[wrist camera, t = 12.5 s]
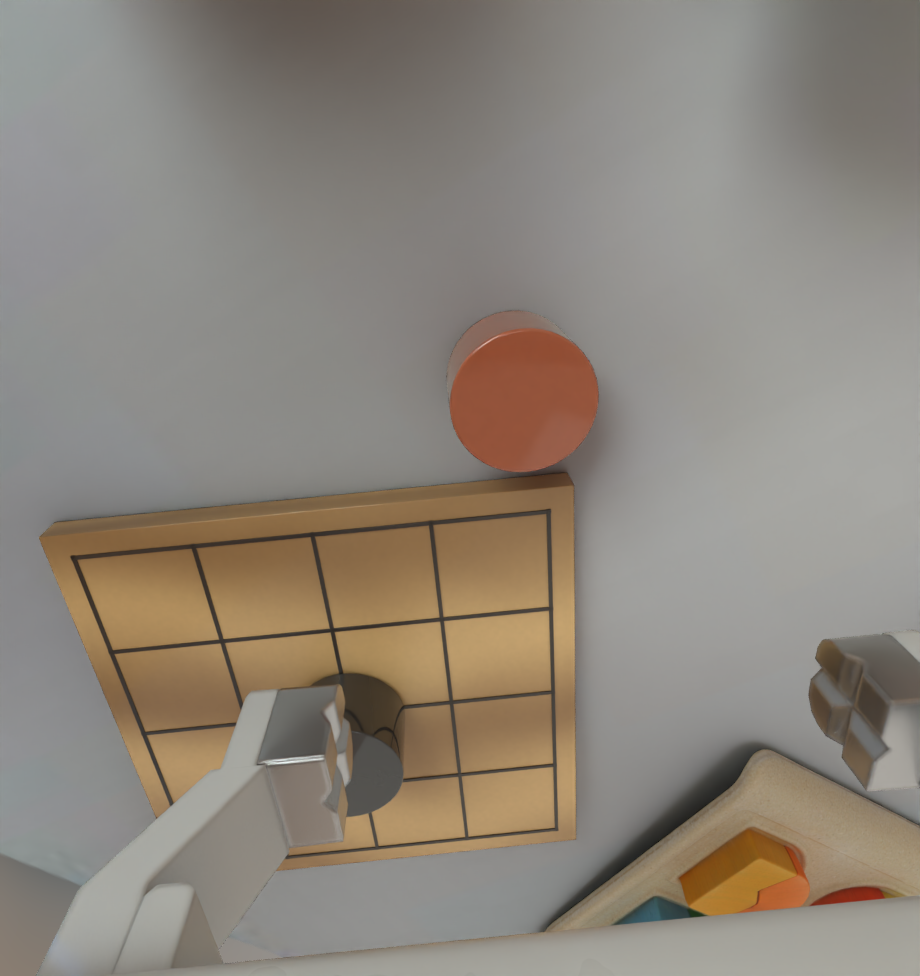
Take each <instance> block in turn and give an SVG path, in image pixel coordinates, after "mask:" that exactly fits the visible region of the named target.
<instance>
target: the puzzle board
mask: <svg viewBox="0 0 920 976" xmlns="http://www.w3.org/2000/svg"><path fill="white" fill-rule="evenodd" d="M916 895H920V826H919V825H917V824H915V823H913V822H911V821H909V820H907V819H905V818H903V817H901V816H899V815H897V814H896V813H894V812H892V811H890V810H888V809H886V808H884V807H882V806H880V805H878V804H876V803H874V802H872V801H870V800H868V799H866V798H864V797H862V796H860V795H858V794H856V793H854V792H852V791H850V790H848V789H846V788H844V787H842V786H840V785H839V784H837V783H835V782H833V781H831V780H829V779H827V778H825V777H823V776H821V775H819V774H817V773H815V772H813V771H811V770H809V769H807V768H805V767H803V766H801V765H799V764H797V763H795V762H793V761H791V760H790V759H788V758H786V757H784V756H782V755H780V754H778V753H776V752H774V751H772V750H768V749H763V750H759V751H757V752H756V753H754V754H753V755H752V756H751V758H750V759H749V761H748V762H747V764H746V766H745V767H744V769H743V771H742V773H741V775H740V776H739V778H738V779H737V781H736V782H735V783H734V784H733V785H732V786H731V787H730V788H729V789H727V790H726V791H725V792H724V793H722V794H721V795H720V796H718V797H717V798H716V799H714V800H713V801H712V802H711V803H709V804H708V805H707V806H705V807H704V808H703V809H701V810H700V811H699V812H697V813H696V814H695V815H694V816H692V817H691V818H690V819H688V820H687V821H686V822H684V823H683V824H682V825H680V826H679V827H678V828H676V829H675V830H674V831H672V832H671V833H670V834H668V835H667V836H666V837H665V838H663V839H662V840H661V841H659V842H658V843H657V844H655V845H654V846H653V847H651V848H650V849H649V850H647V851H646V852H645V853H644V854H642V855H641V856H640V857H638V858H637V859H636V860H634V861H633V862H632V863H630V864H629V865H628V866H627V867H625V868H624V869H623V870H621V871H620V872H619V873H617V874H616V875H615V876H613V877H612V878H611V879H609V880H608V881H607V882H606V883H604V884H603V885H602V886H600V887H599V888H598V889H596V890H595V891H594V892H592V893H591V894H590V895H588V896H587V897H586V898H584V899H583V900H582V901H580V902H579V903H578V904H577V905H575V906H574V907H573V908H571V909H570V910H569V911H567V912H566V913H565V914H563V915H562V916H561V917H559V918H558V919H557V920H555V921H554V922H553V923H552V924H550V926H549V927H548V928H547V929H546V931H545V932H550V931H560V930H570V929H581V928H591V927H601V926H611V925H622V924H632V923H642V922H652V921H663V920H673V919H683V918H693V917H704V916H714V915H724V914H734V913H745V912H755V911H765V910H775V909H785V908H796V907H806V906H816V905H826V904H836V903H846V902H856V901H866V900H876V899H886V898H896V897H906V896H916Z"/></svg>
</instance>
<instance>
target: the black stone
mask: <svg viewBox="0 0 920 976" xmlns="http://www.w3.org/2000/svg"><path fill="white" fill-rule="evenodd" d="M334 684H340V685H341V686H342V689H343V693H344V698H345V709H344V716H343V717H344V718H345V719H346V720H347V721H349V722H350V728H351V733H352V744H353V767H352V776H351V781H350V782H349V784H348V785H347V786H346V787H345V791H346V796H347V801H348V809H347V817H354V816H360V815H364V814H368V813H370V812H373V811H375V810H378V809H380V808H381V807H383V806H385V805H386V804H387V803H389V802H390V801H391V800H392V799H393V798H394V797H395V796H396V794H397V793H398V791H399V789H400V787H401V785H402V782H403V777H404V751H405V718H406V715H405V708H404V705H403V702H402V700H401V698H400V697H399V695H398V694H397V693H396V692H395V691H394V690H393V689H392V688H391V687H390V686H389V685H387V684H386V683H384V682H383V681H381V680H379V679H376V678H374V677H371V676H367V675H363V674H356V673H342V674H335V675H331V676H328V677H325V678H322V679H320V680H318V681H316V682H315V683H313V684H312V685H310V686H320V685H334Z"/></svg>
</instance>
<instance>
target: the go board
mask: <svg viewBox="0 0 920 976" xmlns="http://www.w3.org/2000/svg"><path fill="white" fill-rule="evenodd" d="M39 540H40V542H41V544H42V547H43V549H44V552H45V554H46V556H47V559H48V561H49V563H50V566H51V568H52V571H53V573H54V575H55V578H56V580H57V583H58V585H59V587H60V590H61V592H62V594H63V597H64V599H65V602H66V604H67V606H68V609H69V611H70V614H71V616H72V618H73V621H74V623H75V625H76V628H77V630H78V633H79V635H80V637H81V640H82V642H83V645H84V647H85V649H86V652H87V654H88V656H89V659H90V661H91V664H92V666H93V668H94V671H95V673H96V676H97V678H98V680H99V683H100V685H101V687H102V690H103V692H104V695H105V697H106V699H107V702H108V704H109V707H110V709H111V711H112V714H113V716H114V718H115V721H116V723H117V726H118V728H119V730H120V733H121V735H122V738H123V740H124V742H125V745H126V747H127V749H128V752H129V754H130V757H131V759H132V761H133V764H134V766H135V769H136V771H137V773H138V776H139V778H140V780H141V783H142V785H143V788H144V790H145V792H146V795H147V797H148V800H149V802H150V804H151V807H152V809H153V811H154V814H155V816H156V819H157V818H158V817H159V816H160V815H162V814H163V813H164V812H165V811H166V810H167V809H168V808H169V807H170V806H172V805H173V804H174V803H175V802H176V801H177V800H178V799H179V798H180V797H182V796H183V795H184V794H185V793H186V792H187V791H188V790H189V789H190V788H192V787H193V786H194V785H195V784H196V783H197V782H198V781H199V780H200V779H202V778H203V777H204V776H205V775H206V774H207V773H208V772H209V771H210V770H215V769H220V768H221V765H222V762H223V760H224V757H225V754H226V751H227V748H228V745H229V743H230V740H231V737H232V734H233V731H234V729H235V726H236V723H237V720H238V717H239V714H240V712H241V709H242V706H243V703H244V700H245V698H246V696H247V695H248V694H249V693H250V692H251V691H255V690H270V689H281V688H290V687H305V686H310V685H312V684H313V683H315V682H316V681H318V680H320V679H322V678H325V677H328V676H331V675H335V674H342V673H356V674H363V675H367V676H371V677H374V678H376V679H379V680H381V681H383V682H384V683H386V684H387V685H389V686H390V687H391V688H392V689H393V690H394V691H395V692H396V693H397V694H398V695H399V697H400V698H401V700H402V702H403V705H404V708H405V715H406V718H405V751H404V777H403V782H402V785H401V787H400V789H399V791H398V793H397V794H396V796H395V797H394V798H393V799H392V800H391V801H390V802H389V803H387V804H386V805H385V806H383V807H381V808H380V809H378V810H375V811H373V812H370V813H368V814H364V815H360V816H354V817H346V824H345V832H344V840H343V842H336V843H328V844H320V845H312V846H304V847H296V848H289V853H288V855H287V856H286V857H285V859H284V860H283V862H282V863H281V864H280V866H279V867H278V869H277V870H276V871H280V870H290V869H299V868H309V867H318V866H328V865H337V864H347V863H356V862H366V861H376V860H385V859H395V858H404V857H414V856H423V855H433V854H442V853H452V852H461V851H471V850H481V849H490V848H500V847H509V846H519V845H528V844H538V843H547V842H557V841H566V840H575V839H576V738H575V564H574V485H573V483H572V481H571V479H570V477H569V475H568V473H559V474H549V475H538V476H528V477H518V478H507V479H497V480H487V481H476V482H466V483H456V484H445V485H435V486H425V487H415V488H404V489H394V490H384V491H373V492H363V493H353V494H342V495H332V496H322V497H311V498H301V499H291V500H280V501H270V502H260V503H250V504H239V505H229V506H219V507H208V508H198V509H188V510H177V511H167V512H157V513H146V514H136V515H126V516H115V517H105V518H95V519H85V520H74V521H64V522H55V523H54V524H53V525H51V526H50V527H49V528H48V529H47V530H46V531H45V532H44V533H43V534H42V535H41V536H40V537H39Z"/></svg>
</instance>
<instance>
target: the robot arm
mask: <svg viewBox="0 0 920 976" xmlns="http://www.w3.org/2000/svg"><path fill="white" fill-rule="evenodd" d="M815 659H816V660H817V662H818V663H819V664H820V666H821V667H822V668H821V669H820V670H819V671H818V672H817V673H816V674H815V676H814V677H813V678H812V679H811V682H810V688H809V700H810V706H811V711H812V713H813V716H814V718H815V720H816V722H817V724H818V725H819V727H820V728H821V730H822V731H823V733H824V734H825V735H826V736H827V737H829V738H831V739H832V740H834V741H836V742H837V743H839V744H841V745H843V750H842V759H843V760H844V761H845V763H846V764H847V765H848V767H849V768H850V769H851V771H852V772H853V773H854V775H855V776H856V777H857V779H858V780H859V782H860V783H861V784H862V786H863V787H864V788H865V790H866V791H882V790H897V789H912V788H920V632H917V631H915V630H906V631H897V632H888V633H882V634H873V635H863V636H853V637H843V638H833V639H823V640H822V642H821V643H820V644H819V646H818V648H817V653H816V657H815ZM344 709H345V698H344V693H343V689H342V686H341V685H340V684H334V685H320V686H305V687H290V688H281V689H270V690H255V691H251V692H250V693H249V694H248V695H247V696H246V698H245V700H244V703H243V706H242V709H241V712H240V714H239V717H238V720H237V723H236V726H235V729H234V731H233V734H232V737H231V740H230V743H229V745H228V748H227V751H226V754H225V757H224V760H223V762H222V765H221V768H220V769H215V770H210V771H209V772H208V773H207V774H206V775H205V776H204V777H203V778H202V779H200V780H199V781H198V782H197V783H196V784H195V785H194V786H193V787H192V788H190V789H189V790H188V791H187V792H186V793H185V794H184V795H183V796H182V797H180V798H179V799H178V800H177V801H176V802H175V803H174V804H173V805H172V806H170V807H169V808H168V809H167V810H166V811H165V812H164V813H163V814H162V815H160V816H159V817H158V818H157V819H156V820H155V821H154V822H153V823H152V824H150V825H149V826H148V827H147V828H146V829H145V830H144V831H143V832H142V833H140V834H139V835H138V836H137V837H136V838H135V839H134V840H133V841H132V842H130V843H129V844H128V845H127V846H126V847H125V848H124V849H123V850H122V851H121V852H119V853H118V854H117V855H116V856H115V857H114V858H113V859H112V860H111V861H109V862H108V863H107V864H106V865H105V866H104V867H103V868H102V869H101V870H99V871H98V872H97V873H96V874H95V875H94V876H93V877H92V878H91V879H89V880H88V881H87V882H86V883H85V884H84V885H83V886H82V887H81V888H79V890H78V892H77V894H76V896H75V898H74V900H73V902H72V904H71V906H70V908H69V910H68V912H67V914H66V916H65V918H64V920H63V922H62V924H61V926H60V928H59V930H58V932H57V934H56V936H55V938H54V940H53V942H52V944H51V946H50V948H49V950H48V952H47V954H46V956H45V958H44V960H43V962H42V964H41V966H40V968H39V970H38V972H37V974H36V976H920V895H916V896H906V897H896V898H886V899H876V900H866V901H856V902H846V903H836V904H826V905H816V906H806V907H796V908H785V909H775V910H765V911H755V912H745V913H734V914H724V915H714V916H704V917H693V918H683V919H673V920H663V921H652V922H642V923H632V924H622V925H611V926H601V927H591V928H581V929H570V930H560V931H550V932H540V933H530V934H520V935H509V936H499V937H489V938H479V939H469V940H458V941H448V942H438V943H428V944H418V945H408V946H397V947H387V948H377V949H367V950H357V951H347V952H336V953H326V954H316V955H306V956H296V957H286V958H276V959H265V960H256V961H245V962H235V963H223V960H222V958H221V955H220V953H219V949H220V948H221V946H222V945H223V944H224V942H225V941H226V939H227V938H228V937H229V935H230V934H231V932H232V931H233V930H234V928H235V927H236V925H237V924H238V923H239V921H240V920H241V919H242V917H243V916H244V914H245V913H246V912H247V910H248V909H249V907H250V906H251V905H252V903H253V902H254V901H255V899H256V898H257V896H258V895H259V894H260V892H261V891H262V889H263V888H264V887H265V885H266V884H267V882H268V881H269V880H270V878H271V877H272V876H273V874H274V873H275V871H276V870H277V869H278V867H279V866H280V864H281V863H282V862H283V860H284V859H285V857H286V856H287V855H288V853H289V848H296V847H304V846H312V845H320V844H328V843H336V842H343V840H344V832H345V824H346V817H347V809H348V801H347V796H346V791H345V787H346V786H347V785H348V784H349V782H350V781H351V776H352V767H353V744H352V733H351V728H350V722H349V721H347V720H346V719H345V718H344V717H343V716H344Z"/></svg>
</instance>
